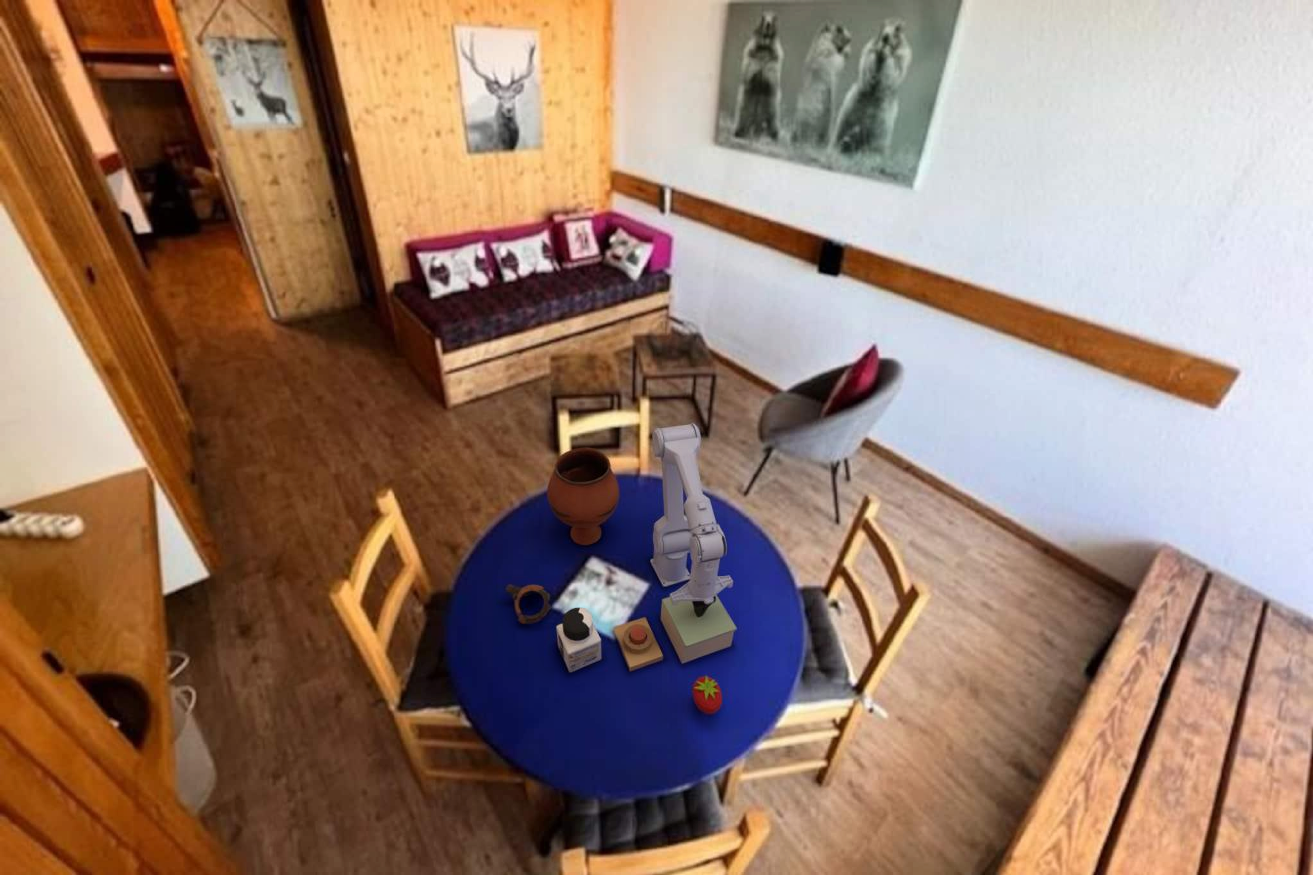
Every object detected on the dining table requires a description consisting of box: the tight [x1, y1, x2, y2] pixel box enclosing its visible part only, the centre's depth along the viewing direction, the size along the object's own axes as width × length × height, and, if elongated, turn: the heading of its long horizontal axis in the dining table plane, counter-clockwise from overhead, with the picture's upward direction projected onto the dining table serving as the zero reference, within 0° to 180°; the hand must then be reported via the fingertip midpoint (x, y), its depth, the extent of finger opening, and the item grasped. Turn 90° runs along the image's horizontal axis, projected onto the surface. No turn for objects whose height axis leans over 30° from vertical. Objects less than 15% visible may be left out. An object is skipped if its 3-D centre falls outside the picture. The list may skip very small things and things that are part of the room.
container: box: [555, 607, 602, 673], centre depth 127 cm, size 8×8×13 cm
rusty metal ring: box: [505, 583, 552, 625], centre depth 138 cm, size 12×10×8 cm
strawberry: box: [692, 674, 723, 715], centre depth 119 cm, size 6×8×10 cm
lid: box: [661, 594, 738, 648], centre depth 132 cm, size 13×13×1 cm
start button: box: [630, 626, 646, 644], centre depth 131 cm, size 4×4×2 cm
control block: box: [613, 616, 664, 672], centre depth 132 cm, size 11×8×4 cm
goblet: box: [546, 447, 620, 546], centre depth 153 cm, size 19×19×25 cm
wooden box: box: [660, 602, 735, 664], centre depth 135 cm, size 13×13×7 cm
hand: (698, 613), depth 132 cm, fingers closed
